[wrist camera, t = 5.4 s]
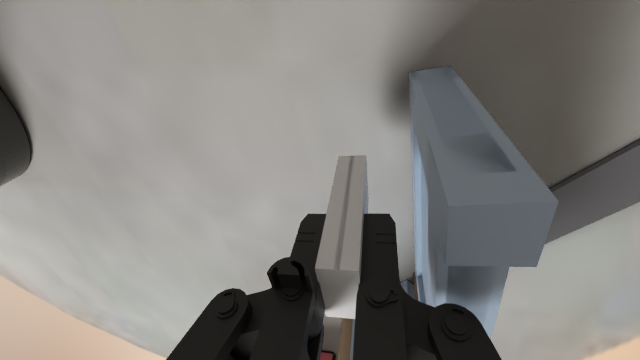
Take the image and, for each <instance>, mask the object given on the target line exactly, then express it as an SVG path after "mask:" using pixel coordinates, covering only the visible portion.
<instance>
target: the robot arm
mask: <svg viewBox="0 0 640 360" xmlns="http://www.w3.org/2000/svg"><path fill="white" fill-rule="evenodd" d="M29 162H30V146H29V142H28V138H27V135H26V133H25V130H24V128H23V125H22V123H21V121H20V119H19V118H18V116H17V114H16V112H15V110H14V109H13V107H12V106H11V104H10V103H9V101H8V100H7V98H6V97H5V95H4V94H3V93H2V91H1V90H0V186H2V185H3V184H5V183H7V182H9V181H11V180H13V179H14V178H16V177H18V176H20V175H21V174H23V173H24V172H25V171H26V169H27V168H28V165H29ZM267 275H268V277H269V280H270V282H271V285H272V288H270V289H268V290H265V291H262V292H258V293H254V294H250V295H246V294H245V292H243V291H242V290H240V289H234V288H232V289H228V290H225V291H223V292H221V293H219V294H218V295H217V296H216V297H215V298H214V299H213V300H212V301H211V302H210V303H209V304H208V306H207V307H206V308H205V310H204V311H203V312H202V314H201V315H200V316H199V317H198V319H197V320H196V321H195V323H194V324H193V325H192V327H191V328H190V329H189V331H188V332H187V333H186V334H185V336H184V337H183V338H182V340H181V341H180V342H179V344H178V345H177V346H176V348H175V349H174V350H173V351H172V353H171V354H170V355H169V357H168V358H167V359H166V360H320V356H321V350H322V343H323V337H324V326H323V317H324V311H325V313H326V316H327V317H338V318H348V319H355V329H354V346H353V360H501V358H500V356H499V354H498V352H497V351H496V349H495V347H494V345H493V343H492V342H491V340H490V338H489V336H488V335H487V333H486V331H485V329H484V327H483V326H482V324H481V322H480V321H479V320H478V318H477V317H476V316H475V315H474V314H473V313H472V312H471V311H469V310H468V309H466V308H465V307H463V306H460V305H457V304H452V303H444V304H441V305H439V306H436V307H433V306H430V305H427V304H425V303H422V302H420V301H418V300H416V299H414V298H412V297H411V296H410V295H408V294H407V293H406V291H405V290H404V289H403V287H402V285H401V284H400V280H399V270H398V256H397V242H396V228H395V222H394V221H393V219H392V217H391V216H390V214H368V183H367V164H366V155H364V156H339V158H338V163H337V167H336V172H335V177H334V181H333V186H332V191H331V195H330V200H329V205H328V209H327V214H308V215H307V216H306V217H305V218H304V219H303V221H302V222H301V224H300V227H299V230H298V234H297V237H296V240H295V243H294V246H293V249H292V253H291V256H290V257H287V258H283V259H281V260H278V261H277V262H276V263H274V264H273V265H272V266H271V267H270V269H269V270H268V272H267Z"/></svg>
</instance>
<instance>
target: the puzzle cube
mask: <svg viewBox="0 0 640 360" xmlns="http://www.w3.org/2000/svg"><path fill="white" fill-rule="evenodd" d="M320 360H336V355H335V354H334V353H332V352H326V351H321V356H320Z"/></svg>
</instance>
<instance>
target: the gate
mask: <svg viewBox="0 0 640 360" xmlns="http://www.w3.org/2000/svg"><path fill="white" fill-rule="evenodd" d="M409 88H410V121H411V154H412V187H413V220H414V253H415V275H416V283H417V292H418V300H419V301H420V302H422V303H425V304H427V305H430V306H433V307H436V306H439V305H441V304H444V303H452V304H457V305H460V306H463V307H465V308H466V309H468V310H469V311H471V312H472V313H473V314H474V315H475V316H476V317H477V318H478V320H479V321H480V322H481V324H482V326H483V327H484V329H485V331H486V333H487V335H488V336H489V338H490V340H491V336H492V332H493V328H494V324H495V321H496V317H497V313H498V309H499V305H500V301H501V297H502V293H503V289H504V286H505V282H506V278H507V274H508V270H509V266H513V267H537V264H538V261H539V258H540V255H541V252H542V249H543V247H544V244H545V241H546V238H547V235H548V232H549V229H550V226H551V223H552V220H553V217H554V214H555V211H556V208H557V205H558V202H559V201H558V200H557V198H556V197H555V196H554V195H553V193H552V192H551V191H550V190H549V188H548V187H547V186H546V185H545V183H544V182H543V181H542V180H541V178H540V177H539V176H538V175H537V173H536V172H535V171H534V170H533V168H532V167H531V166H530V164H529V163H528V162H527V161H526V159H525V158H524V157H523V156H522V154H521V153H520V152H519V151H518V149H517V148H516V147H515V146H514V144H513V143H512V142H511V141H510V139H509V138H508V137H507V135H506V134H505V133H504V132H503V130H502V129H501V128H500V127H499V125H498V124H497V123H496V122H495V120H494V119H493V118H492V117H491V115H490V114H489V113H488V112H487V110H486V109H485V108H484V106H483V105H482V104H481V103H480V101H479V100H478V99H477V98H476V96H475V95H474V94H473V93H472V91H471V90H470V89H469V88H468V86H467V85H466V84H465V83H464V81H463V80H462V79H461V78H460V76H459V75H458V74H457V72H456V71H455V70H454V69H453V67H452V66H446V67H439V68H433V69H427V70H421V71H415V72H409Z"/></svg>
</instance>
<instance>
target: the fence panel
mask: <svg viewBox="0 0 640 360" xmlns="http://www.w3.org/2000/svg"><path fill="white" fill-rule="evenodd" d="M400 284H401V285H402V287H403V289H404V290H405V291H406V293H407V294H408V295H410V296H411V297H412V298H414V299H415V290H414V284H412V283H411V282H409V281H408V280H405V281H403V282H401V283H400ZM354 329H355V319H348V318H342V325H341V334H340V343H339V352H338V360H353V346H354Z"/></svg>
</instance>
